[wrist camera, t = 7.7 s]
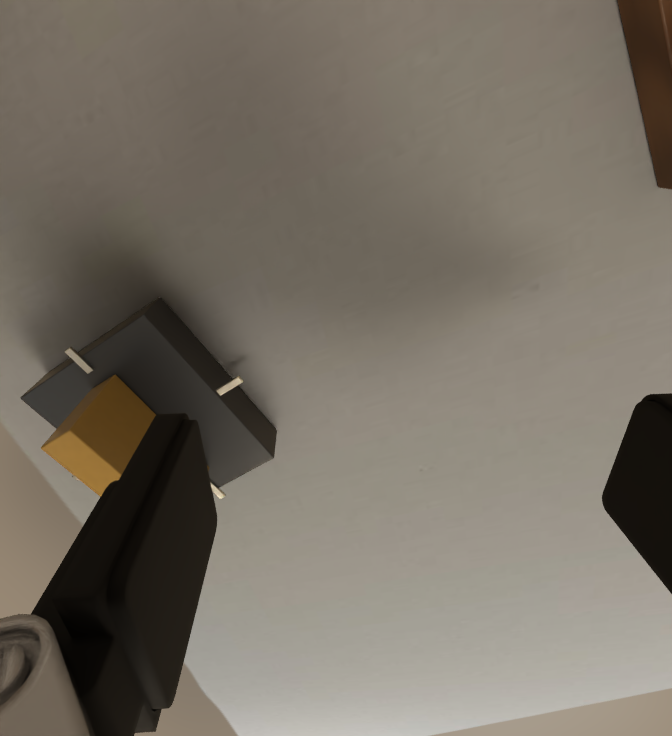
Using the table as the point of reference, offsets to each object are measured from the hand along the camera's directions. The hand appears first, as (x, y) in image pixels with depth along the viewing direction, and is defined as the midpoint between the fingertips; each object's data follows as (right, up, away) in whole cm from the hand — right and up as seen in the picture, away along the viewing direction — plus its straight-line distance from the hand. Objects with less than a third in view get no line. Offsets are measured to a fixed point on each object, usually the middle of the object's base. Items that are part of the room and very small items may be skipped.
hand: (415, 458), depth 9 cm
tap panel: (-11, 0, +15) cm, 19 cm away
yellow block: (-11, -1, +13) cm, 17 cm away
